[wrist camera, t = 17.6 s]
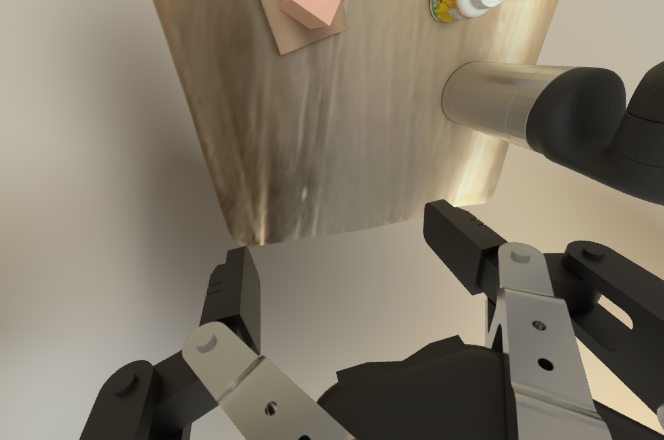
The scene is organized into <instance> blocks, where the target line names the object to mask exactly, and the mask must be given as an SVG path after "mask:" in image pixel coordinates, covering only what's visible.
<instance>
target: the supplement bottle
mask: <svg viewBox="0 0 664 440" xmlns="http://www.w3.org/2000/svg"><path fill="white" fill-rule="evenodd" d="M502 1H503V0H430V10H431V13H432V16H433V17H434V18H435V19H436V20H437V21H439V22H442V23H448V22H453V21H459V20H465V19H470V18H475V17H479V16H481V15H483V14H484V13H486V12H487V11H488V10H489V9H490V8H491V7H494V6H497V5H498V4H500V3H501V2H502Z"/></svg>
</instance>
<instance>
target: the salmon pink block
mask: <svg viewBox="0 0 664 440" xmlns="http://www.w3.org/2000/svg"><path fill="white" fill-rule="evenodd" d="M340 1H341V0H282V2H281V4H280V7H279V9H280V10H282V11H283V12H285V13H286V14H288V15H289V16H291V17H292V18H294V19H295V20H297V21H298V22H300V23H301V24H303V25H304V26H306V27H307V28H309V29H314V28H320V27H327V26H330V25H331V22H332V20H333V18H334V15H335V13H336V10H337V8H338V6H339V3H340Z"/></svg>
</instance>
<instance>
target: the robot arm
mask: <svg viewBox="0 0 664 440" xmlns="http://www.w3.org/2000/svg"><path fill="white" fill-rule="evenodd" d="M442 107H443V111H444V113H445V115H446V117H447V118H448V119H449V120H451V121H452V122H455V123H458V124H461V125H463V126H466V127H469V128H471V129H474V130H477V131H480V132H482V133H485V134H488V135H491V136H493V137H496V138H499V139H502V140H505V141H507V142H510V143H513V144H516V145H519V146H522V147H524V148H527V149H530V150H533V151H535V152H538V153H541V154H543V155H544V156H545V157H546V158H548V159H549V160H551V161H552V162H555V163H557V164H559V165H562V166H564V167H567V168H569V169H571V170H574V171H576V172H578V173H581V174H583V175H585V176H587V177H589V178H591V179H593V180H596V181H598V182H600V183H602V184H604V185H607V186H609V187H611V188H614V189H616V190H618V191H621V192H623V193H626V194H628V195H631V196H634V197H636V198H639V199H642V200H645V201H648V202H652V203H655V204H659V205H663V206H664V62H661V63H659V64H658V65H656V66H654V67H653V68H651V69H650V70H649V71H648V72H647V73H646V74H645V75H644V77H643V78H642V80H641V81H640V83H639V85H638V86H637V88H636V90H635V92H634V94H633V96H632V98H631V100H630V102H629V104H628V107H627V108H626V93H625V87H624V84H623V81H622V80H621V78H620V77H619V76H618V75H617V74H616V73H615V72H613V71H610V70H608V69H604V68H591V67H570V66H545V65H525V64H503V63H484V62H472V63H468V64H466V65H463V66H462V67H460V68H459V69H458V70H456V71H455V72H454V73H453V75H452V76H451V77H450V79H449V80H448V82H447V84H446V86H445V88H444V91H443V96H442ZM626 109H627V110H626ZM423 234H424V238H425V241H426V243H427V244H428V245H429V246H430V247H431V248H432V250H433V251H434V252H435V253H436V254H437V256H438V257H439V258H440V259H441V260H442V261H443V263H444V264H445V265H446V266H447V267H448V268H449V269H450V271H451V272H452V273H453V274H454V275H455V276H456V277H457V279H458V280H459V281H460V282H461V283H462V284H463V285H464V287H465V288H466V289H467V290H468V291H469V292H470V293H471V295H476V294H479V293H482V292H484V293H485V294H486V295H487V297H486V301H485V347H484V346H478V345H470V344H464V343H463V341H462V340H461V338H460V337H459V335H456V336H453V337H450V338H446V339H443V340H440V341H436V342H433V343H430V344H428V345H426V346H425V347H423V348H422V349H420V350H419V351H417V352H416V353H415V354H413V355H411V356H410V357H408V358H407V359H405V360H403V361H393V362H367V363H364V364H360V365H357V366H354V367H350V368H347V369H344V370H340V371H337V372H336V374H337V378H338V382H337V383H336V384H334V385H333V386H331V387H330V388H329V389H328V390H327V391H325V392H324V394H323V395H322V396H321V397H320V398H319V399H318V401H317V402H315V401H314V400H313V399H312V398H310V397H309V396H308V395H307V394H306V393H305V392H304V391H303V390H302V389H301V388H299V386H297V385H296V384H295V383H294V382H293V381H292V380H291V379H290V378H289V377H288V376H287V375H285V374H284V373H283V372H282V371H281V370H280V369H279V368H278V367H277V366H276V365H275V364H273V363H272V362H271V361H270V360H269V359H268V358H266V357H265V356H261V357H259V355H260V280H259V276H258V272H257V270H256V267H255V265H254V262H253V259H252V257H251V254H250V252H249V249H248V247H247V246H244V247H240V248H236V249H232V250H228V252H227V258H226V263H225V264H221V265H218V266H217V267H216V268H215V270H214V271H213V273H212V274H211V276H210V280H209V287H208V289H207V296H206V298H205V302H204V307H203V311H202V316H201V321H200V325H199V328H197V329H196V330H195V331H193V332H192V333H191V334H190V335H189V336H188V338H187V339H186V341H185V343H184V345H183V348H182V350H181V351H179V352H178V353H176V354H174V355H172V356H171V357H169V358H167V359H165V360H163V361H161V362H160V363H158V364H156V365H154V366H152V364H151V363H149V362H148V361H145V360H138V361H134V362H131V363H129V364H127V365H125V366H123V367H122V368H120V369H119V370H117V371H116V372H115V373H114V374H113V375H112V376H111V377H110V378H109V379H108V380H107V381H106V382H105V383H104V385H103V386H102V388H101V390H100V392H99V394H98V396H97V398H96V401H95V403H94V406H93V408H92V411H91V413H90V415H89V417H88V420H87V422H86V425H85V427H84V430H83V432H82V434H81V437H80V439H79V440H190V433H191V425H192V422H194V421H195V420H197V419H198V418H200V417H201V416H203V415H205V414H206V413H207V412H209V411H211V410H212V409H214V408H215V407H217V406H218V405H220V406H221V407H222V409H223V410H224V411H225V413H226V414H227V415H228V417H229V418H230V419H231V420H232V422H233V423H234V424H235V426H236V427H237V428H238V430H239V431H240V432H241V433H242V435H243V436H244V437H245V439H246V440H664V435H662V434H660V433H658V432H656V431H654V430H652V429H650V428H649V427H647V426H645V425H642V424H640V423H639V422H637V421H635V420H633V419H631V418H629V417H627V416H625V415H623V414H621V413H619V412H617V411H615V410H613V409H611V408H609V407H607V406H605V405H603V404H602V403H600V402H598V401H596V400H594V399H592V396H591V392H590V389H589V385H588V381H587V378H586V374H585V371H584V367H583V363H582V360H581V356H580V352H579V349H578V345H577V342H576V338H575V336H576V337H577V338H578V339H579V340H580V341H581V342H582V343H583V344H584V345H585V346H586V347H587V348H588V349H589V350H590V351H591V352H592V353H593V354H594V355H595V356H596V357H597V358H599V359H600V360H601V361H602V362H603V363H604V364H605V365H606V366H607V367H608V368H609V369H610V370H611V371H612V372H613V373H614V374H615V375H616V376H617V377H618V378H619V379H620V380H621V381H622V382H623V383H624V384H625V385H626V386H627V387H628V388H629V389H630V390H631V391H632V392H633V393H635V394H636V395H637V396H638V397H639V398H640V399H641V400H642V401H643V402H644V403H645V404H646V405H647V406H648V407H649V408H650V409H651V410H652V411H653V412H654V413H655V414H656V415H657V417H658V420H659V422H660V424H661V426H662V428H663V429H664V280H662V279H660V278H659V277H657V276H655V275H653V274H652V273H650V272H649V271H647V270H645V269H644V268H642V267H640V266H639V265H637V264H635V263H633V262H632V261H630V260H629V259H627V258H625V257H624V256H622V255H620V254H619V253H617V252H616V251H614V250H612V249H611V248H609V247H607V246H604V245H602V244H599V243H595V242H591V241H574V242H571V243H569V244H568V246H567V248H566V250H565V253H544V254H543V253H541V252H540V251H539V250H538V249H536V248H534V247H532V246H530V245H527V244H523V243H517V242H510V243H509V242H507V241H506V240H505V239H503V238H502V237H501V236H499V235H498V234H497V233H496V232H494V231H493V230H492V229H490V228H489V227H488V226H486V225H484V223H483V222H481V221H480V220H477V218H476V217H475V216H473V215H472V214H471V213H469V212H468V211H465V210H463V209H460V208H458V207H455V208H454V207H453V206H452V205H451V204H449V203H448V202H447V201H446V200H444V199H442V200H438V201H433V202H429V203H426V205H425V208H424V227H423ZM601 295H604V296H605V297H606V298H608V299H609V300H610V301H612V302H613V303H614V304H616V305H617V306H618V307H619V308H621V309H622V310H623V311H625V312H626V313H627V314H628V315H629V316H630V318H631V320H632V322H633V328H632V330H631V329H630V328H629V327H627V326H626V325H625V324H624V323H622V322H621V321H620V320H619V319H617V318H616V317H615V316H614V315H612V314H611V313H610V312H608V311H607V310H606V309H605V308H604V307H602V306H601V305H600V304H598V303H597V302H598V300H599V299H600V297H601Z"/></svg>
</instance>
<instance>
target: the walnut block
mask: <svg viewBox="0 0 664 440" xmlns="http://www.w3.org/2000/svg"><path fill="white" fill-rule="evenodd" d="M259 1H260V3H261V6H262V9H263V11H264V14H265V17H266V20H267V22H268V25H269V28H270V30H271V33H272V36H273V38H274V41H275V44H276V46H277V49H278V52H279V54H280V55H283V54H285V53H288V52H291V51H293V50H296V49H298V48H301V47H303V46H306V45H308V44H311V43H313V42H316V41H318V40H321V39H323V38H326V37H328V36H331V35H333V34H336V33H338V32H341V31H343V30H346V29H348V24H347V20H346V16H345V12H344V7H343V3H342V0H341V1H340V3H339V6H338V8H337V10H336V13H335V15H334V18H333V20H332V22H331V25H330V26H327V27H320V28H314V29H309V28H307V27H306V26H304V25H303V24H301V23H300V22H298V21H297V20H295V19H294V18H292V17H291V16H289V15H288V14H286V13H285V12H283V11H282V10H280V9H279V7H280V4H281V2H282V0H259Z"/></svg>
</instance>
